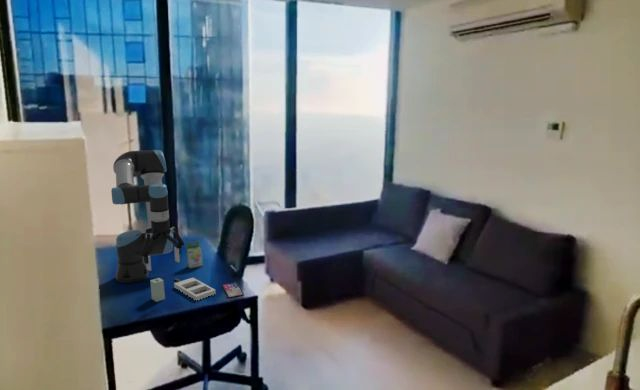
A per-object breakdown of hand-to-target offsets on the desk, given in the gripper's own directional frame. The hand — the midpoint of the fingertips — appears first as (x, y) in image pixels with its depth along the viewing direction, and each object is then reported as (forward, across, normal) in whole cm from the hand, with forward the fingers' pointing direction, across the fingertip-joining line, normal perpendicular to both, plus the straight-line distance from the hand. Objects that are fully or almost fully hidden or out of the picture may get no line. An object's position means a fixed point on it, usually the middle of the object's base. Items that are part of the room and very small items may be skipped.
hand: (163, 265), depth 200 cm
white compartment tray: (+16, +13, +2) cm, 21 cm away
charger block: (+16, -3, +2) cm, 16 cm away
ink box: (+17, +30, +24) cm, 42 cm away
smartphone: (+16, +26, -15) cm, 34 cm away
